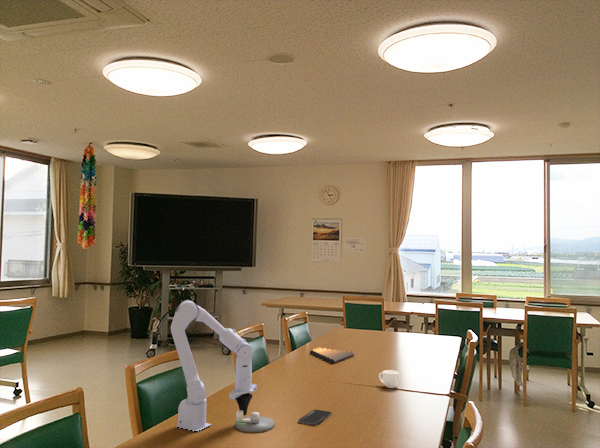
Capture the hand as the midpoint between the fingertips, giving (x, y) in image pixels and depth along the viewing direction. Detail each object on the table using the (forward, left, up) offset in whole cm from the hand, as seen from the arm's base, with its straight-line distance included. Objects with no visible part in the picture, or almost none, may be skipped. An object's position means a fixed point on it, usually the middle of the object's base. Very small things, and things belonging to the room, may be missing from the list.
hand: (243, 414), depth 181 cm
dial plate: (+5, 0, -3) cm, 6 cm away
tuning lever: (+3, -1, -2) cm, 3 cm away
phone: (+20, +18, -4) cm, 27 cm away
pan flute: (-24, +117, -4) cm, 119 cm away
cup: (+29, +75, -3) cm, 81 cm away
